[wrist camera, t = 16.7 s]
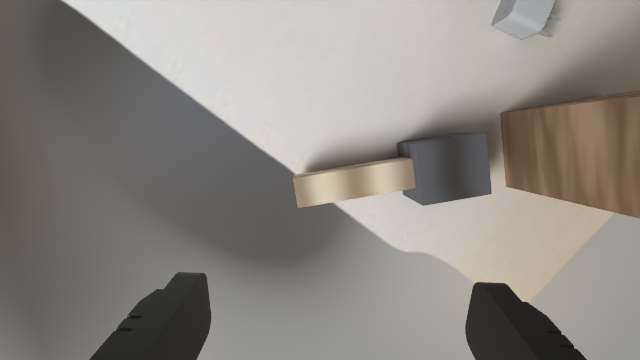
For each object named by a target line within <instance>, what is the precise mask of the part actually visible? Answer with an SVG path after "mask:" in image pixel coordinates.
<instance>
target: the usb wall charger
mask: <svg viewBox="0 0 640 360" xmlns="http://www.w3.org/2000/svg"><path fill="white" fill-rule="evenodd" d="M554 3H555V0H501V1H500V4H499V6H498V9H497V11H496V13H495V16H494V18H493V20H492V23H491V26H492V27H495V28H497V29H499V30H501V31H503V32H506V33H508V34H510V35H512V36H514V37H517V38H519V39H521V40H522V39H524V38H527V37H529V36H531V35H533V34H536V33H539V34H541V35H543V36H546V37H548V38H549V37H552V36H553V35H552V34H550V33H548V32H546V31H544V30H542V28H543V27H544V25H545V23H546V21H547V19H551V20H553V21H558V20H560V18H559V17H557V16H555V15H553V14H551V13H550V12H551V10H552V7H553V5H554ZM554 18H556V19H554ZM548 35H550V36H548Z"/></svg>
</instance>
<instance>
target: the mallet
mask: <svg viewBox="0 0 640 360" xmlns="http://www.w3.org/2000/svg"><path fill="white" fill-rule="evenodd" d="M397 149H398V157H399V158H393V159H387V160H381V161H375V162H369V163H363V164H357V165H351V166H345V167H339V168H333V169H327V170H321V171H315V172H309V173H303V174H297V175H294V177H293V181H294V187H295V192H296V198H297V204H298V208H300V207H307V206H313V205H319V204H325V203H331V202H337V201H343V200H348V199H354V198H360V197H366V196H372V195H378V194H384V193H390V192H396V191H402V190H403V195H405V196H407V197H408V198H410V199H412V200H414V201H416V202H417V203H419V204H421V205H423V206H424V205H430V204H436V203H442V202H447V201H453V200H459V199H465V198H471V197H477V196H482V195H488V194H492V193H491V181H490V168H489V156H488V144H487V132H486V133H455V134H449V135H443V136H437V137H431V138H425V139H418V140H412V141H406V142H400V143H397Z"/></svg>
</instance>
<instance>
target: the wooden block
mask: <svg viewBox="0 0 640 360" xmlns="http://www.w3.org/2000/svg"><path fill="white" fill-rule="evenodd" d="M500 115H501V128H502V140H503V152H504V165H505V177H506V187H510V188H514V189H518V190H523V191H527V192H531V193H535V194H539V195H544V196H548V197H552V198H556V199H560V200H565V201H569V202H573V203H577V204H581V205H586V206H590V207H594V208H598V209H602V210H607V211H611V212H615V213H619V214H624V215H628V216H632V217H636V218H640V91H635V92H628V93H621V94H614V95H606V96H599V97H594V98H588V99H582V100H576V101H570V102H564V103H558V104H552V105H547V106H541V107H535V108H529V109H523V110H517V111H511V112H505V113H500Z"/></svg>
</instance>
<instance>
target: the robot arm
mask: <svg viewBox="0 0 640 360" xmlns="http://www.w3.org/2000/svg"><path fill="white" fill-rule="evenodd" d="M210 324H211V310H210V301H209V293H208V283H207V277H206V275H205V274H204V273H187V272H178V273H177V274H176V275H175V276H174V277H173V278H172V279H171V281H170V282H169V283H168V284H167V286H166V287H165V288H164V289H162V290H161V289H157V290H155V291H154V292H153V293H151V294H150V295H148V296H147V297H145V298H144V299H142V300H141V301H140V302H139V303H138V304H137V305H136V306H135V307H134V309H133V310H132V311H131V312H130V313H129V314H128V315H127V319H124V320H123V321H122V322H121V324H120V325H119V326H118V327H117V330H116V331H114V332H113V333H112V334H111V335H110V336H109V338H108V339H107V340H106V341H105V342H104V343H103V345H102V346H101V347H100V348H99V349H98V350H97V351H96V353H95V354H94V355H93V356H92V357H91V358H90V360H196V359H197V357H198V355H199V353H200V351H201V349H202V347H203V345H204V342H205V341H206V338H207V336H208V333H209V330H210ZM465 328H466V338H467V342H468V345H469V347H470V350H471V351H472V353H473V355H474V357H475V359H476V360H587V359H586V358H585V357H584V356H583V355H582V354H581V353H580V352H579V351H578V350H577V349H574V345H573V344H572V343H571V342H570V341H569V340H568V339H567V338H566V337H565V336H564V335H562V334H561V331H560V330H559V329H558V328H557V327H556V326H555V325H554V323H553V322H552V321H551V320H550V319H549V318H548V317H547V316H546V315H544V314H543V313H542V312H540V311H539V310H537V309H536V308H534V307H533V306H532V305H530V304H529V303H527V302H522V301H521V300H520V299H519V298H518V297H517V295H516V294H515V293H514V292H513V291H512V290H511V289H510V287H509V286H508V285H506V284H505V283H485V282H477V283H475V284H474V286H473V290H472V295H471V300H470V305H469V310H468V315H467V320H466V327H465Z"/></svg>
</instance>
